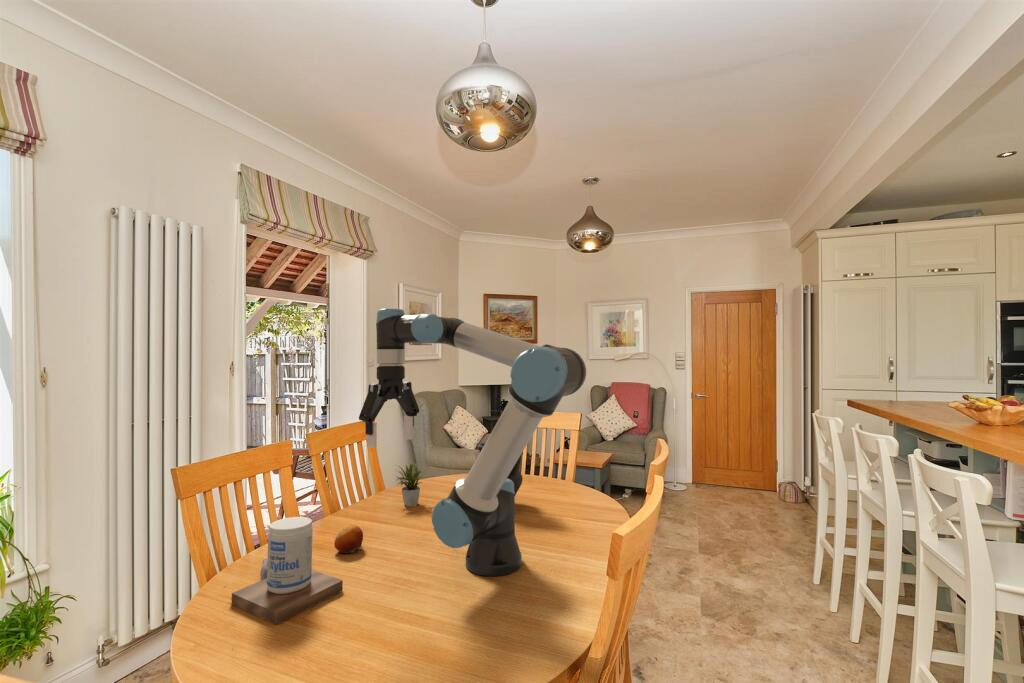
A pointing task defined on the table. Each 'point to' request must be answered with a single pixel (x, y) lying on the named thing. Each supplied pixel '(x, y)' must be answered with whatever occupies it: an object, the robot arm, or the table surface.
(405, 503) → the house plant
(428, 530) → the table surface
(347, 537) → the fruit
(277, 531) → the supplement tub
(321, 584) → the walnut board
